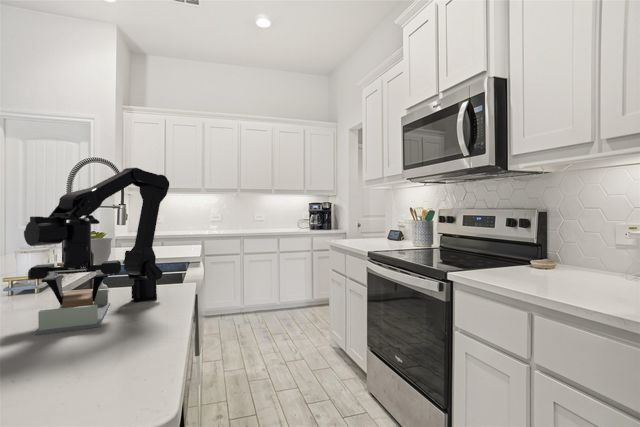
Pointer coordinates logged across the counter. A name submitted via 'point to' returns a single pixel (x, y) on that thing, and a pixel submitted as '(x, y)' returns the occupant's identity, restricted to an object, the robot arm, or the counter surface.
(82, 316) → the peg cradle
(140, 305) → the counter surface
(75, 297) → the shelf board
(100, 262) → the chalice
